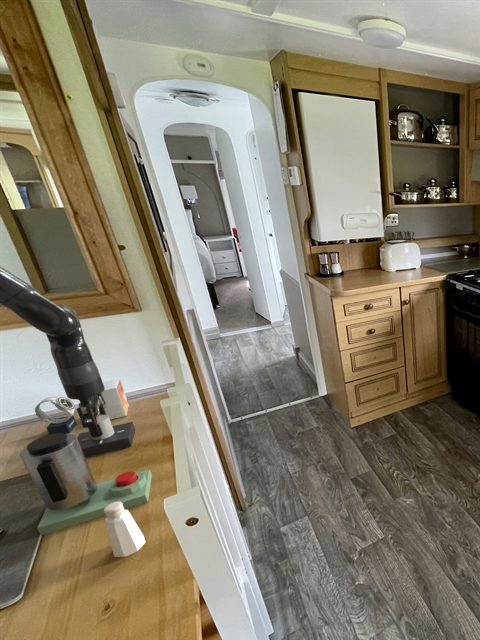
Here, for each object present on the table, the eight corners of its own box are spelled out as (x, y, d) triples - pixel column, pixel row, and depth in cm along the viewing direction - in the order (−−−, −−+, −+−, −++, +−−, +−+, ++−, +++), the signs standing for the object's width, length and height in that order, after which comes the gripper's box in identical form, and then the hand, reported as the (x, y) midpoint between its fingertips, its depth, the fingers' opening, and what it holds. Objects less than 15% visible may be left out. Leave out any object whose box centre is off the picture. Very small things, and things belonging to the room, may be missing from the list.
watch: (78, 431, 115) (65, 400, 111) (42, 438, 112) (27, 405, 108) (85, 422, 120) (72, 391, 116) (50, 428, 116) (36, 397, 112)
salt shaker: (106, 552, 77) (87, 511, 73) (136, 532, 82) (120, 493, 77) (122, 562, 75) (104, 520, 71) (152, 541, 80) (136, 500, 76)
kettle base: (40, 535, 80) (33, 521, 79) (55, 503, 89) (48, 489, 87) (148, 502, 90) (143, 489, 88) (152, 475, 98) (147, 463, 97)
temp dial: (113, 436, 108) (106, 419, 106) (90, 442, 106) (83, 424, 103) (115, 428, 112) (109, 412, 110) (93, 434, 109) (86, 416, 107)
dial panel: (74, 460, 103) (70, 451, 102) (82, 441, 110) (79, 432, 109) (131, 446, 109) (128, 437, 108) (135, 429, 117) (132, 421, 116)
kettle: (37, 521, 79) (7, 463, 73) (52, 492, 87) (25, 437, 81) (92, 505, 83) (67, 449, 78) (100, 478, 91) (78, 426, 85)
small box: (127, 416, 124) (116, 388, 120) (104, 421, 121) (93, 392, 117) (130, 406, 130) (120, 378, 126) (108, 410, 127) (97, 382, 123)
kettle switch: (116, 489, 88) (114, 483, 88) (118, 480, 91) (116, 474, 90) (136, 483, 90) (134, 477, 90) (138, 475, 93) (135, 469, 92)
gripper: (68, 371, 105) (88, 421, 111) (54, 392, 94) (76, 445, 100) (104, 366, 109) (121, 414, 115) (94, 385, 98) (114, 437, 104)
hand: (100, 428), depth 108 cm, fingers open, 8 cm apart
